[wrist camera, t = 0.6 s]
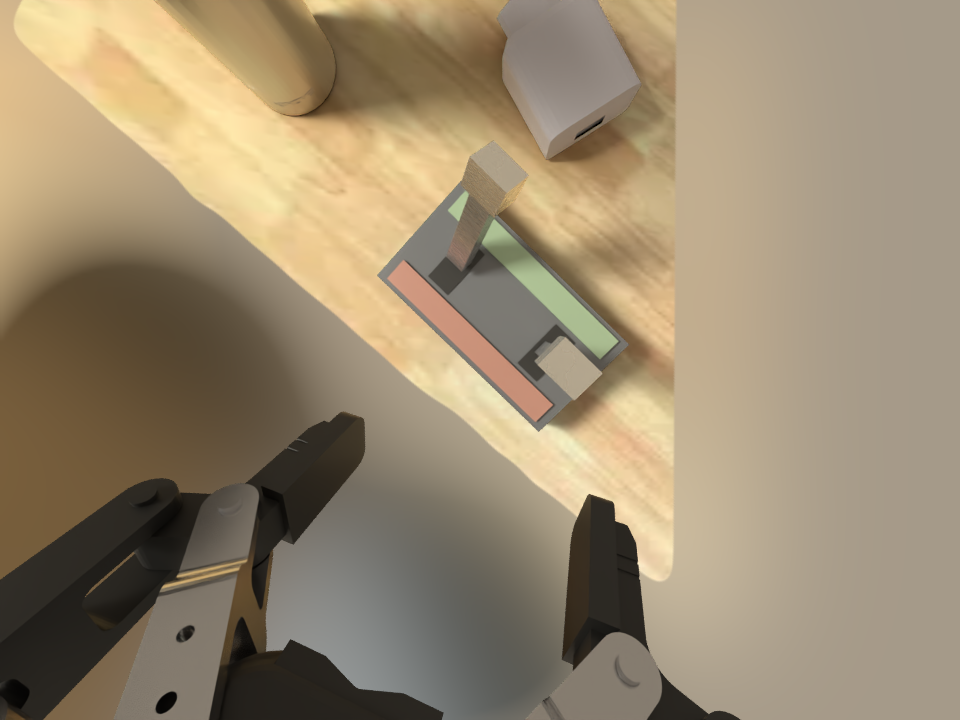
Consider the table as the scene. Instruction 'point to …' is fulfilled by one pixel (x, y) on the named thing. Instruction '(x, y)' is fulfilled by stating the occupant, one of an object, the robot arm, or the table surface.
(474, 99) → the table surface
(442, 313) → the switch box
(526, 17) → the charger
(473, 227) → the lever on
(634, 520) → the table surface
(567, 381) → the switch lever
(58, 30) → the table surface
